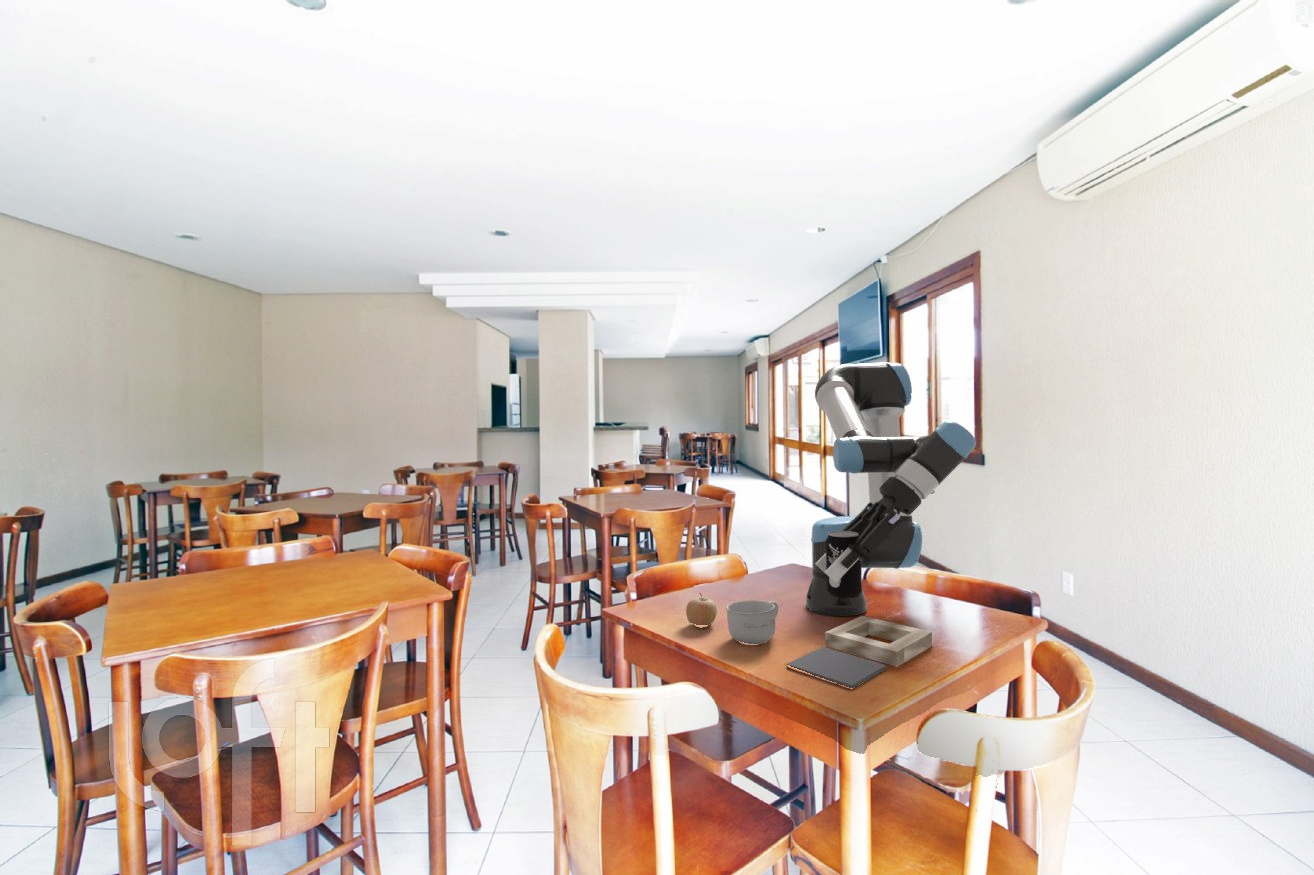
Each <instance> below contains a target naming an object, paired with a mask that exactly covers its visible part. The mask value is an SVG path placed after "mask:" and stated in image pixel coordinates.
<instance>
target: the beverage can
mask: <svg viewBox="0 0 1314 875" xmlns="http://www.w3.org/2000/svg"><path fill="white" fill-rule="evenodd" d="M858 538H859V537H858V533H856V532H851V531H832V532H828V537H827V539H826V570H827V569H828V568H829V567H830V566H831V565H832V564H833V563H834V562H835V561H836V560H837V558H838V557H839V556H840V555H841V554H842V553H843V552H844V551H845V550H846V549H847V548H849V547H848V545H849V544H853V545H854V543H855V542H856V541H857V539H858ZM862 575H863V574H862V568H861V558H860V557H859V559H858V560H857V561H856V562H855V564H854V565H853V566H852V567H851V568H850V569H849V570H848V571H847V572H846V573H845V574H844V575H843V576H842V577H841V578H840V579H839V580H838V581H837V582H836V583H835V582H834V581H833V580H832V579H831V578H830V577H829V576H828V575H827V574H826V576H827V591H828V592H829V593H830V595H832V596H835V597H839V598H855V597H858V596H859V595H860V593H861V592H862V590H863V584H862V583H863V581H862V580H863V577H862Z"/></svg>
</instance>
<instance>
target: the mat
mask: <svg viewBox="0 0 1314 875" xmlns="http://www.w3.org/2000/svg"><path fill="white" fill-rule="evenodd" d="M786 665H790V666H791V667H794V668H797V669H799V670H802V671H805V672H807V673H810V674H812V675H814V676H818V677H820V678H824V679H826V680H829V681H832V682H836V683H837V684H840V685H844V686H846V687H849V688H854V687H855V688H857V687H858V686H857V685H859V684H860V685H862V684H863V683H862V682H864V683H865V682H867V681H869V680H871V679H872V678H874V677H875V676H877V675H879V674H881V673H882V672H884V671H885V670H887V664H885V663H882V662H878V661H875V660H871V659H868V658H864V657H861V656H858V655H854V654H851V653H847V652H844V651H840V650H837V649H833V648H830V647H826V646H822V647H819V648H816V649H815V650H813V651H810V652H808V653H806V654H805V655H804V654H803V655H802V656H800V657H798V658H796V659H793V660H791V661H790V662H787V663H786ZM883 670H884V671H883ZM881 671H882V672H881ZM880 672H881V673H880ZM873 676H874V677H873ZM868 679H869V680H868ZM861 683H862V684H861ZM860 685H859V686H860ZM856 686H857V687H856ZM855 688H854V689H855Z"/></svg>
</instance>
